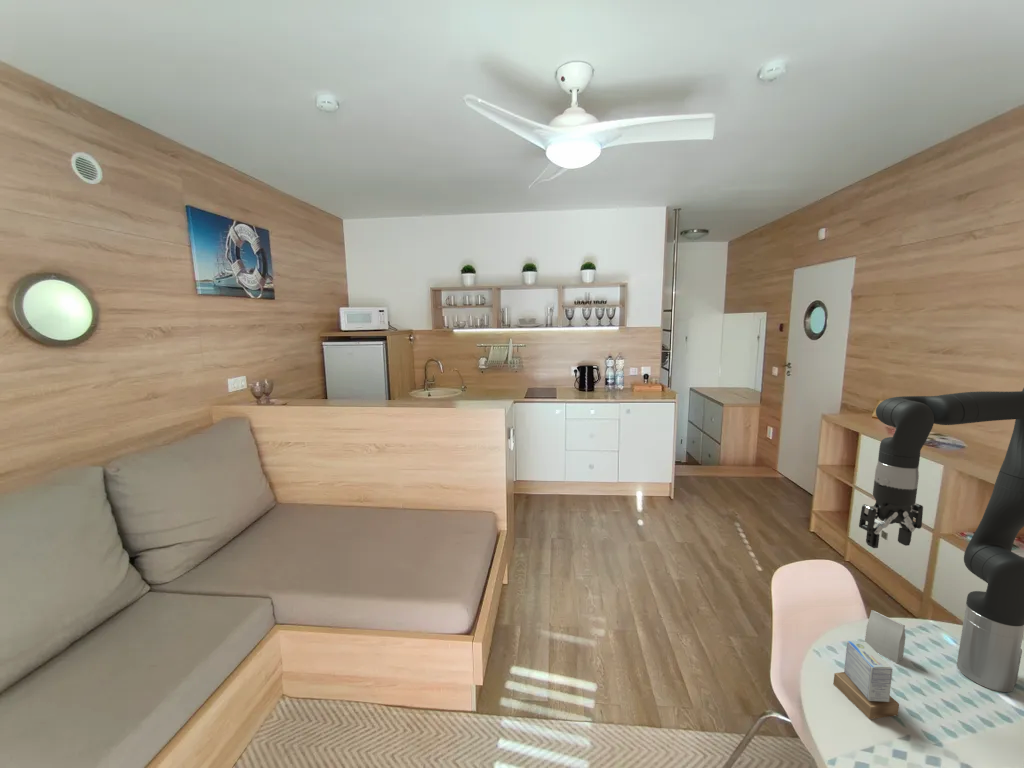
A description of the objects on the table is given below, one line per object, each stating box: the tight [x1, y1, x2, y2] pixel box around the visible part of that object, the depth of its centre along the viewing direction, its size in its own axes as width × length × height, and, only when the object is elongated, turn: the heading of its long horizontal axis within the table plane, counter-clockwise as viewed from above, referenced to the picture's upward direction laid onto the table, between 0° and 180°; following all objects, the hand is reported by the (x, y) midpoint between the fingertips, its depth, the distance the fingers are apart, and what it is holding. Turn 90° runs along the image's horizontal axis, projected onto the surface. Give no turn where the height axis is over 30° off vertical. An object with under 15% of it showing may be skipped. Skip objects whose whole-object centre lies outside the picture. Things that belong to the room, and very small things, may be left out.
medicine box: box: [843, 640, 893, 702], centre depth 94 cm, size 8×4×9 cm, turn 174°
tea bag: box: [864, 609, 906, 664], centre depth 108 cm, size 4×7×10 cm, turn 28°
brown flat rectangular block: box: [832, 671, 900, 720], centre depth 95 cm, size 7×9×3 cm
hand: (887, 545), depth 99 cm, fingers open, 8 cm apart
